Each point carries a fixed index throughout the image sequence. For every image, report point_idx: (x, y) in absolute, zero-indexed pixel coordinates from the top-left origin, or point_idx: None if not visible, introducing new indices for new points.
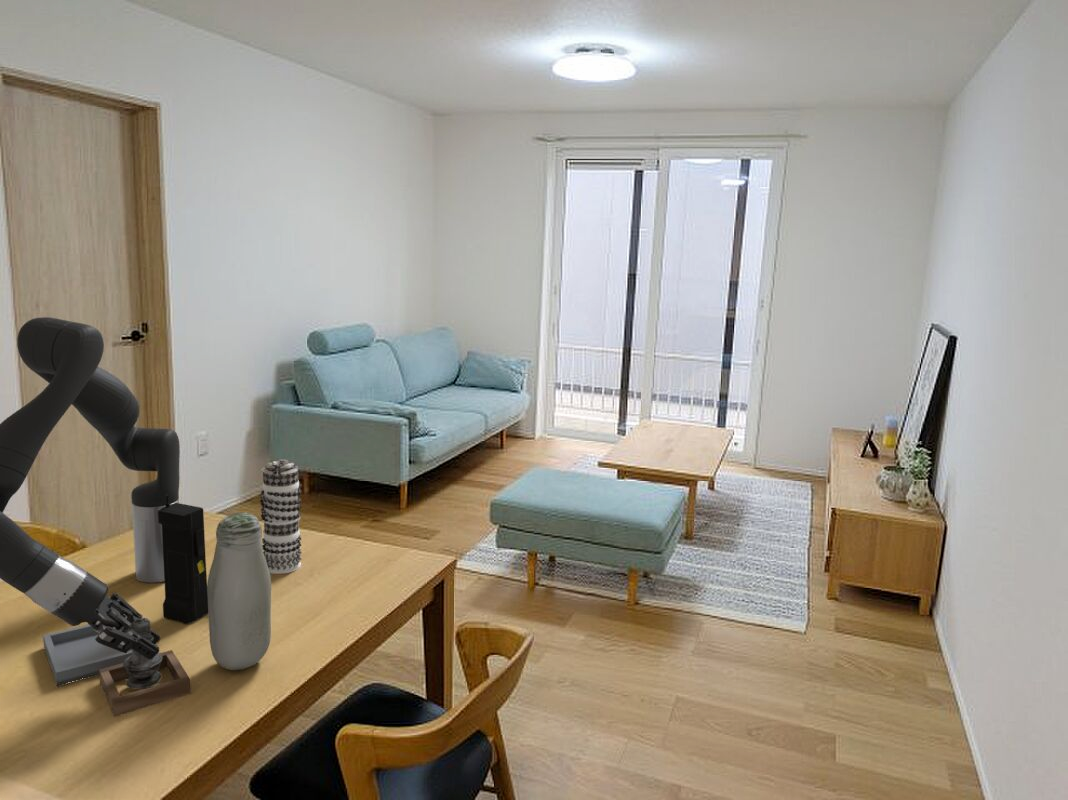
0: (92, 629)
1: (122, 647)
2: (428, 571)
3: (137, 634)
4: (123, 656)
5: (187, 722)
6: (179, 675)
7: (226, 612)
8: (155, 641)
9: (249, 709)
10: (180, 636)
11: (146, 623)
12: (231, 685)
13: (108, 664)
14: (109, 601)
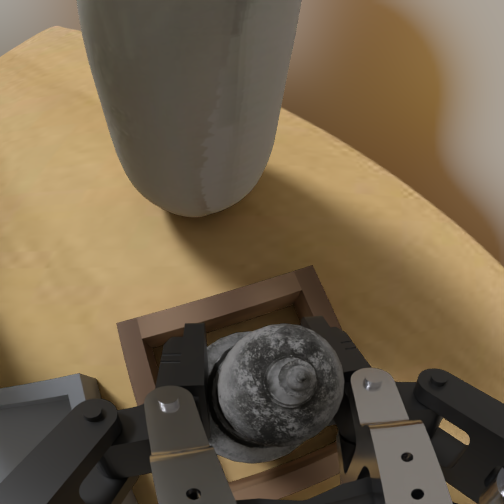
0: None
1: (433, 437)
2: (63, 31)
3: (371, 389)
4: None
5: (409, 281)
6: (284, 294)
7: (289, 45)
8: (206, 345)
9: (373, 182)
10: (12, 312)
11: (323, 338)
12: (285, 203)
13: (126, 498)
14: None
